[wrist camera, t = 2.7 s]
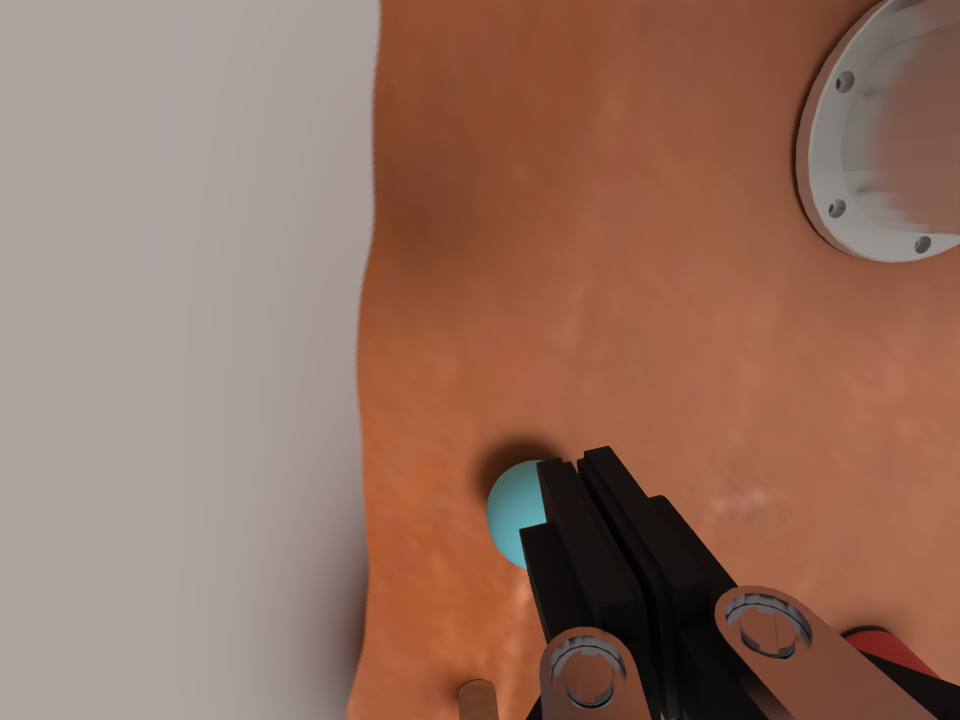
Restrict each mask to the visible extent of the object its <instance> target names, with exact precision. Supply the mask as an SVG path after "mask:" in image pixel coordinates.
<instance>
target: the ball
mask: <svg viewBox="0 0 960 720" xmlns="http://www.w3.org/2000/svg"><path fill="white" fill-rule="evenodd" d="M541 461H544V460H531V461H526V462H522V463H519V464H517V465H515V466H513V467H511V468H510V469H508V470H507V471H505V472H504V473H503V474H502V475H501V476H500V477H499V479H498V480H497V481H496V483H495V484H494V486H493V488H492V490H491V492H490V495H489V498H488V502H487V509H486V518H487V526H488V529H489V533H490V536H491V538H492V540H493V542H494V544H495V545H496V547H497V548H498V549H499V551H500V552H501V553H502V554H503V555H504V556H505V557H506V558H507V559H508V560H510V561H511V562H512V563H514V564H516V565H518V566H520V567H522V568H525V569H527V567H526V563H525V558H524V554H523V549H522V544H521V539H520V534H519V529H521V528H526V527H530V526H534V525H538V524H542V523H546V517H545V511H544V506H543V501H542V495H541V490H540V484H539V479H538V473H537V467H536V463H537V462H541Z"/></svg>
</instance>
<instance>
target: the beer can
mask: <svg viewBox="0 0 960 720" xmlns="http://www.w3.org/2000/svg"><path fill="white" fill-rule="evenodd" d="M844 639H845V640H846V641H847V642H848V643H849V644H851V645H852V646H853V647H854V648H856V649H858V650H861V651H864V652H867V653H869V654H872V655H875V656H878V657H880V658H883V659H886V660H889V661H891V662H894V663H897V664H900V665H902V666H905V667H908V668H911V669H913V670H916V671H919V672H922V673H924V674H927V675H930V676H933V677H935V678H938V679H941V678H940V677H939V676H937V675H936V674H935V673H934V672H933V671H932V670H931V669H930V668H929V667H928V666H927V665H926V664H925V663H924V662H923V661H922V660H920V659H919V658H918V657H917V656H916V655H915V654H914V653H913V652H912V651H911V650H910V649H909V648H908V647H907V646H906V645H904V644H903V643H902V642H901V641H900V640H899V639H898V638H896V637H895V636H894V635H892V634H890V633H886V632H882V631H878V630H867V631H860V632H856V633H853V634H850V635H848V636H846V637H844ZM941 680H942V679H941Z"/></svg>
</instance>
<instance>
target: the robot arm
mask: <svg viewBox="0 0 960 720" xmlns="http://www.w3.org/2000/svg"><path fill="white" fill-rule="evenodd" d="M796 176H797V182H798V189H799V195H800V197H801V200H802V203H803V206H804V208H805V211H806V214H807V216H808V217H809V219H810V221H811V222H812V224H813V225H814V227H815V228H816V230H817V231H818V233H819V234H820V235H821V236H823V237H824V238H825V239H826V240H827V241H828V242H829V243H830V244H831V245H832V246H834V247H835V248H837V249H839V250H841V251H843V252H845V253H846V254H848V255H851V256H855V257H858V258H862V259H866V260H872V261H881V262H889V263H898V262H911V261H917V260H920V259H924V258H928V257H931V256H935V255H937V254H940V253H942V252H944V251H946V250H948V249H950V248H953V247H955V246H957V245H959V244H960V0H882V1H880V2H879V3H878V4H876V5H875V6H874V7H872V8H871V9H870V10H868V11H867V12H866V13H865V14H864V15H863V16H862V17H861V18H860V19H859V20H858V21H857V22H856V23H855V24H854V25H853V26H852V27H851V28H850V29H849V30H848V31H847V32H846V33H845V35H844V36H843V37H842V39H841V40H840V42H839V43H838V44H837V46H836V47H835V48H834V50H833V51H832V53H831V54H830V55H829V57H828V58H827V59H826V61H825V63H824V65H823V67H822V69H821V71H820V73H819V75H818V76H817V78H816V80H815V82H814V84H813V86H812V88H811V91H810V94H809V97H808V100H807V102H806V105H805V108H804V111H803V114H802V117H801V122H800V128H799V133H798V138H797V143H796ZM536 467H537V473H538V479H539V484H540V490H541V495H542V501H543V506H544V511H545V517H546V523H542V524H538V525H534V526H530V527H526V528H521V529H519V534H520V539H521V544H522V549H523V554H524V558H525V563H526V567H527V571H528V576H529V580H530V584H531V588H532V592H533V595H534V599H535V603H536V606H537V610H538V614H539V617H540V621H541V625H542V628H543V632H544V636H545V639H546V643H547V646H546V648H545V650H544V652H543V655H542V657H541V659H540V669H539V679H540V691H541V695H540V696H539V698H538V700H537V701H536V703H535V705H534V706H533V708H532V710H531V712H530V713H529V715H528V717H527V718H526V720H661V713H662V715H663V717H664V719H665V720H673V719H675V720H960V686H957V685H955V684H952V683H949V682H946V681H944V680H941V679H938V678H935V677H933V676H930V675H927V674H924V673H922V672H919V671H916V670H913V669H911V668H908V667H905V666H902V665H900V664H897V663H894V662H891V661H889V660H886V659H883V658H880V657H878V656H875V655H872V654H869V653H867V652H864V651H861V650H858V649H856V648H854V647H853V646H852V645H851V644H849V643H848V642H847V641H846V640H845V639H844V638H842V637H841V636H840V635H839V634H838V633H837V632H835V631H834V630H833V629H832V628H831V627H830V626H828V625H827V624H826V623H825V622H824V621H823V620H821V619H820V618H819V617H818V616H817V615H816V614H814V613H813V612H812V611H811V610H810V609H809V608H808V607H806V606H805V605H803V604H802V603H801V602H799V601H798V600H796V599H795V598H793V597H792V596H790V595H787V594H785V593H783V592H781V591H778V590H776V589H772V588H768V587H763V586H746V585H745V586H741V587H738V586H737V584H736V583H735V582H734V581H733V579H732V578H731V577H730V576H729V574H728V573H727V572H726V571H725V570H724V568H723V567H722V566H721V565H720V563H719V562H718V561H717V560H716V558H715V557H714V556H713V555H712V553H711V552H710V551H709V550H708V549H707V547H706V546H705V545H704V544H703V542H702V541H701V540H700V539H699V537H698V536H697V535H696V534H695V532H694V531H693V530H692V529H691V528H690V526H689V525H688V524H687V523H686V521H685V520H684V519H683V518H682V516H681V515H680V514H679V513H678V511H677V510H676V509H675V508H674V507H673V505H672V504H671V503H670V502H669V500H668V499H667V498H666V497H665V496H662V495H658V496H654V497H650V498H648V497H647V496H646V494H645V493H644V492H643V490H642V489H641V488H640V486H639V485H638V484H637V482H636V481H635V480H634V478H633V477H632V476H631V474H630V473H629V472H628V470H627V469H626V468H625V466H624V465H623V464H622V462H621V461H620V460H619V458H618V457H617V456H616V454H615V453H614V452H613V450H612V449H611V448H610V447H609V446H604V447H600V448H596V449H592V450H588V451H585V452H584V458H582V459H578V460H577V468H578V473H577V471H576V469H575V468H574V466H573V464H572V462H570V461H569V462H565V463H563V461H562V460H561V458H560V457H558V458H554V459H549V460H545V461H541V462H537V463H536Z"/></svg>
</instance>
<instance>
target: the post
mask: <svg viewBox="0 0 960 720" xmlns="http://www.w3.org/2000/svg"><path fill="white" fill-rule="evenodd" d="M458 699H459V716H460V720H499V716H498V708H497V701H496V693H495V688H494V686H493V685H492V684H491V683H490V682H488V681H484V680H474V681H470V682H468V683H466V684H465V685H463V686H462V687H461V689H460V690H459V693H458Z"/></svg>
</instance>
